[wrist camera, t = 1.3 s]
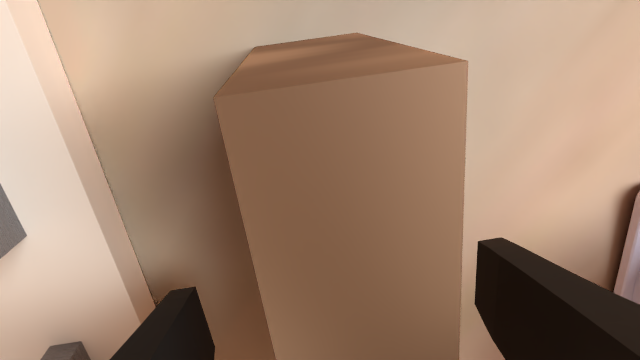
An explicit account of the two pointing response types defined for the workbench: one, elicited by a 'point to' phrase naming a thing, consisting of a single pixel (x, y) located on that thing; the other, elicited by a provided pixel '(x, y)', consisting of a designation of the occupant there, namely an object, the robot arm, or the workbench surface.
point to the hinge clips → (4, 234)
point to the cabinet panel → (57, 210)
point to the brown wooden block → (351, 194)
